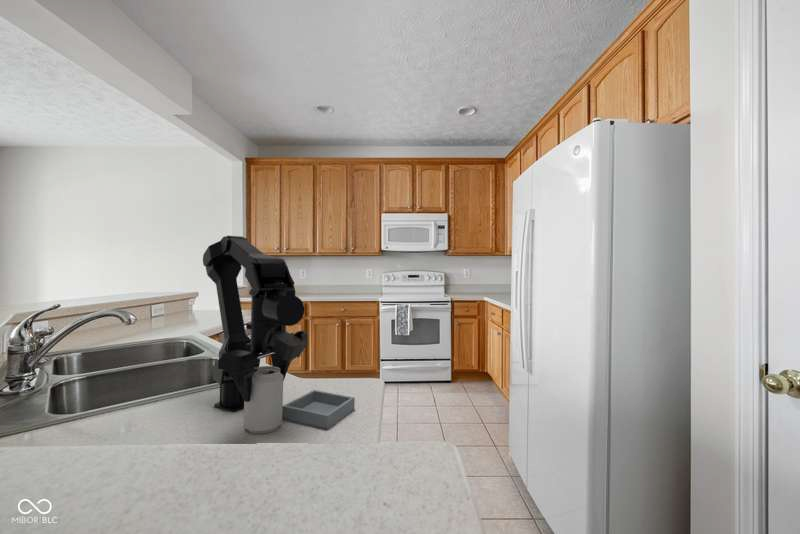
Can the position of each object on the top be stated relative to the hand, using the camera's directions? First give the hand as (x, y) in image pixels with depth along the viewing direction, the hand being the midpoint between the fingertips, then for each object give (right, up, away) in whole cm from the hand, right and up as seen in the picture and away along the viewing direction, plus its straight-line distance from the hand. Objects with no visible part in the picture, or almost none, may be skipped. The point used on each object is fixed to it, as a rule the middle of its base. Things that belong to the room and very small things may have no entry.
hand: (263, 393), depth 76 cm
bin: (+10, -7, +7) cm, 14 cm away
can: (0, -7, 0) cm, 7 cm away
